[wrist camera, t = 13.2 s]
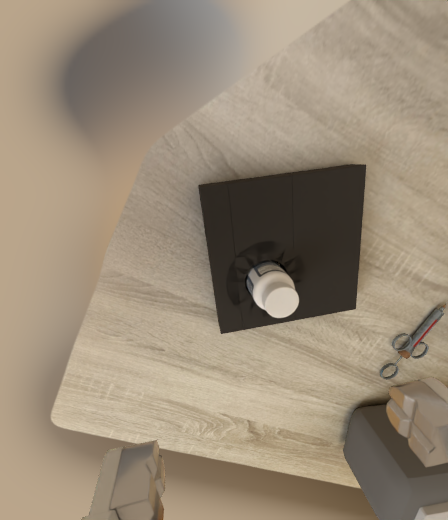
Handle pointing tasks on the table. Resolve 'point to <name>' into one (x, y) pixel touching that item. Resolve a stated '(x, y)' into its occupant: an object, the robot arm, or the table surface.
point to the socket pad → (285, 240)
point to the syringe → (415, 340)
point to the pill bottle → (272, 289)
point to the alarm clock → (393, 470)
